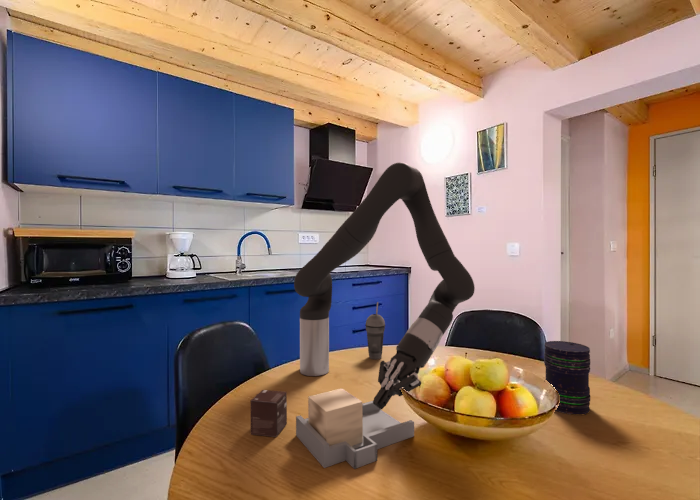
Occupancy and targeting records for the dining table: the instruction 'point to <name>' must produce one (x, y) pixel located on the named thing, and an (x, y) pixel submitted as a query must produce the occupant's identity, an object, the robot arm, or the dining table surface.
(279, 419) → the box
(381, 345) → the beverage cup
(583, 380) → the black striped cylinder
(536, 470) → the dining table surface
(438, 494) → the dining table surface
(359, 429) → the maple cube
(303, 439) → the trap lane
